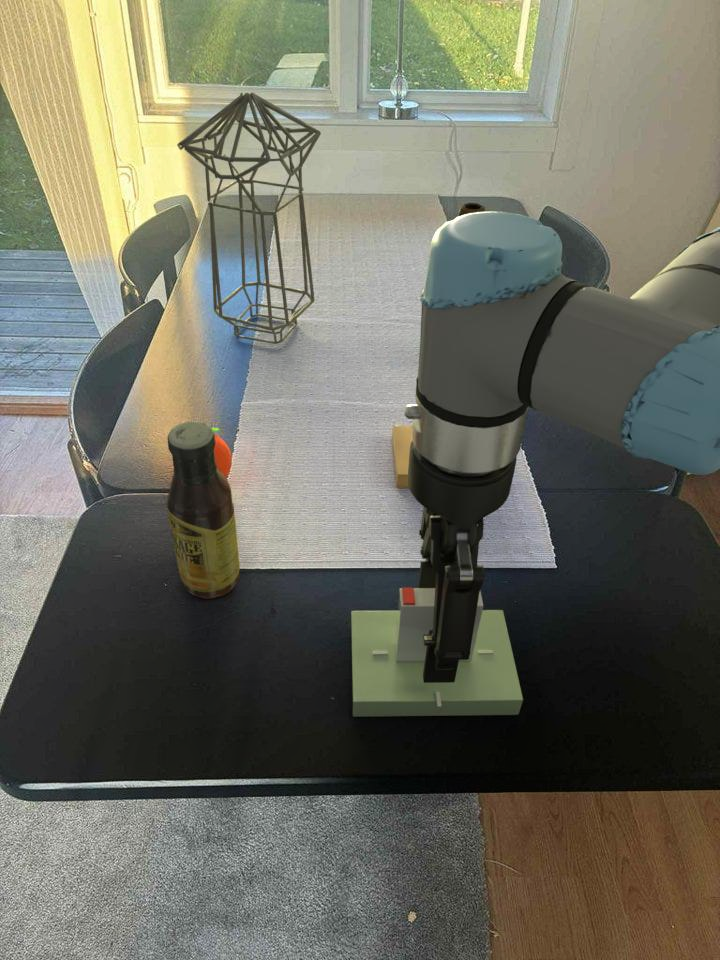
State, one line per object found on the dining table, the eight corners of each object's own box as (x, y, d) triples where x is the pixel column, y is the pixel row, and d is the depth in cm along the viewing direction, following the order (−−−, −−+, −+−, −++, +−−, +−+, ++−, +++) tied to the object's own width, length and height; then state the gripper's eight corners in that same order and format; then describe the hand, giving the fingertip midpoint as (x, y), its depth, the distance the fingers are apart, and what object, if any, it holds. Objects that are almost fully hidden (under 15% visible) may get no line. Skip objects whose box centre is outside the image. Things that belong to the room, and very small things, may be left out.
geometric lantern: (328, 319, 118) (326, 87, 95) (287, 364, 107) (274, 114, 84) (245, 301, 123) (224, 75, 100) (198, 343, 111) (162, 99, 88)
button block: (480, 438, 94) (484, 414, 92) (493, 487, 87) (498, 463, 84) (391, 438, 94) (393, 414, 91) (396, 488, 86) (398, 463, 84)
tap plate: (498, 620, 71) (502, 603, 69) (519, 721, 63) (525, 705, 61) (350, 621, 71) (351, 604, 69) (352, 723, 62) (353, 707, 60)
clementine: (206, 453, 90) (199, 408, 86) (250, 470, 88) (245, 425, 83) (165, 489, 85) (155, 442, 80) (211, 508, 83) (203, 462, 78)
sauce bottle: (171, 576, 75) (136, 426, 62) (221, 549, 78) (199, 401, 65) (202, 614, 71) (172, 463, 58) (254, 585, 74) (237, 435, 61)
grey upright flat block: (468, 643, 66) (480, 585, 60) (471, 661, 64) (484, 604, 59) (394, 643, 66) (399, 586, 60) (395, 662, 64) (401, 604, 59)
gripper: (400, 369, 56) (387, 563, 71) (423, 548, 41) (400, 745, 56) (493, 370, 57) (460, 562, 72) (549, 547, 42) (492, 744, 57)
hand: (434, 642), depth 64 cm, fingers open, 7 cm apart
